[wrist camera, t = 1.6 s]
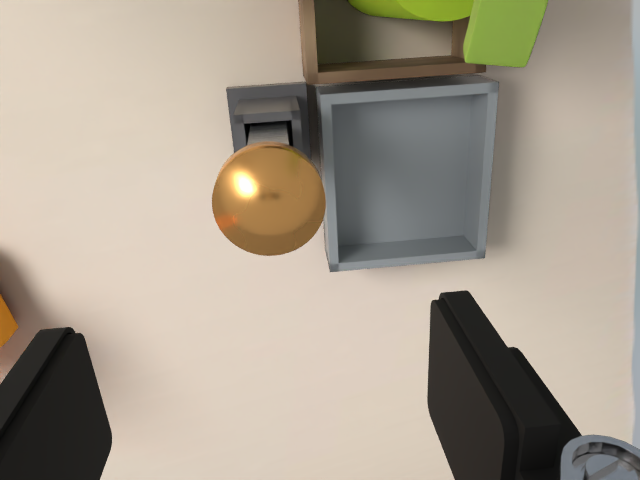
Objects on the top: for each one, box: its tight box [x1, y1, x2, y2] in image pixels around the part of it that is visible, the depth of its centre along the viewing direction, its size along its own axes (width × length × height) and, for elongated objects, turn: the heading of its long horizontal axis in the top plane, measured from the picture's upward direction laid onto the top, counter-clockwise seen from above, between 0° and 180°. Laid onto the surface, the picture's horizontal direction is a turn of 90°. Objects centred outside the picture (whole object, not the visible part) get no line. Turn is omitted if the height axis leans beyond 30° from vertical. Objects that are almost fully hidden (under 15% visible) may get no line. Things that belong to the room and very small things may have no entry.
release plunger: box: [212, 121, 326, 256], centre depth 26 cm, size 4×4×13 cm
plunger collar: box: [226, 82, 311, 160], centre depth 32 cm, size 5×5×6 cm
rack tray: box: [316, 75, 499, 272], centre depth 35 cm, size 12×11×4 cm
